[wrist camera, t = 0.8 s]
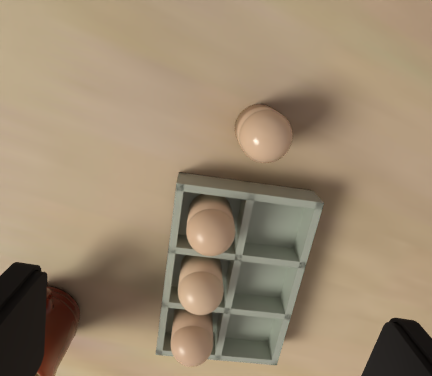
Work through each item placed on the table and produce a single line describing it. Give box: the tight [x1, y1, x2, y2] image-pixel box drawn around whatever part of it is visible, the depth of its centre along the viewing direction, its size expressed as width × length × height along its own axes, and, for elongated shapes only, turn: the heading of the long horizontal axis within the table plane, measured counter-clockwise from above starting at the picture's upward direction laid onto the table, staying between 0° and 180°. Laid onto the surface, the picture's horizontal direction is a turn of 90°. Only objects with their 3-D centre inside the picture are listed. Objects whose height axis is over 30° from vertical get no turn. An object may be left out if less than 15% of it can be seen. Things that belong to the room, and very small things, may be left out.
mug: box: [35, 286, 80, 376], centre depth 32 cm, size 12×9×10 cm
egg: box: [235, 104, 293, 163], centre depth 28 cm, size 4×4×6 cm
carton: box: [156, 172, 324, 367], centre depth 33 cm, size 20×14×7 cm
